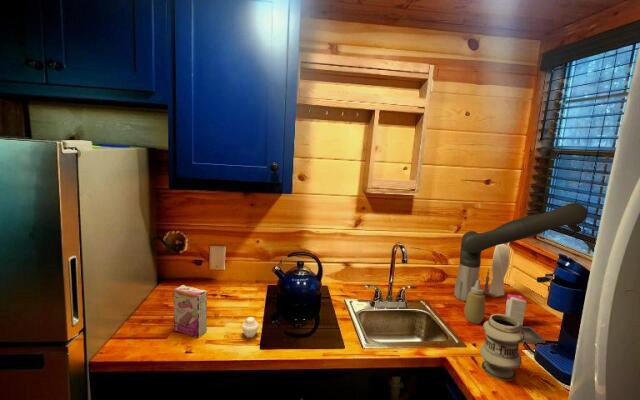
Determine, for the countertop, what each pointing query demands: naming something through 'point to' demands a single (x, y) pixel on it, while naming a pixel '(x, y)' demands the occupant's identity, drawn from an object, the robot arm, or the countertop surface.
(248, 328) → the white lidded pot
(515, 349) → the apothecary jar
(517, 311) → the supplement box
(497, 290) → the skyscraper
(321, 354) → the countertop surface
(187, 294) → the candy bar box
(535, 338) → the socket collar
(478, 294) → the squeeze bottle
